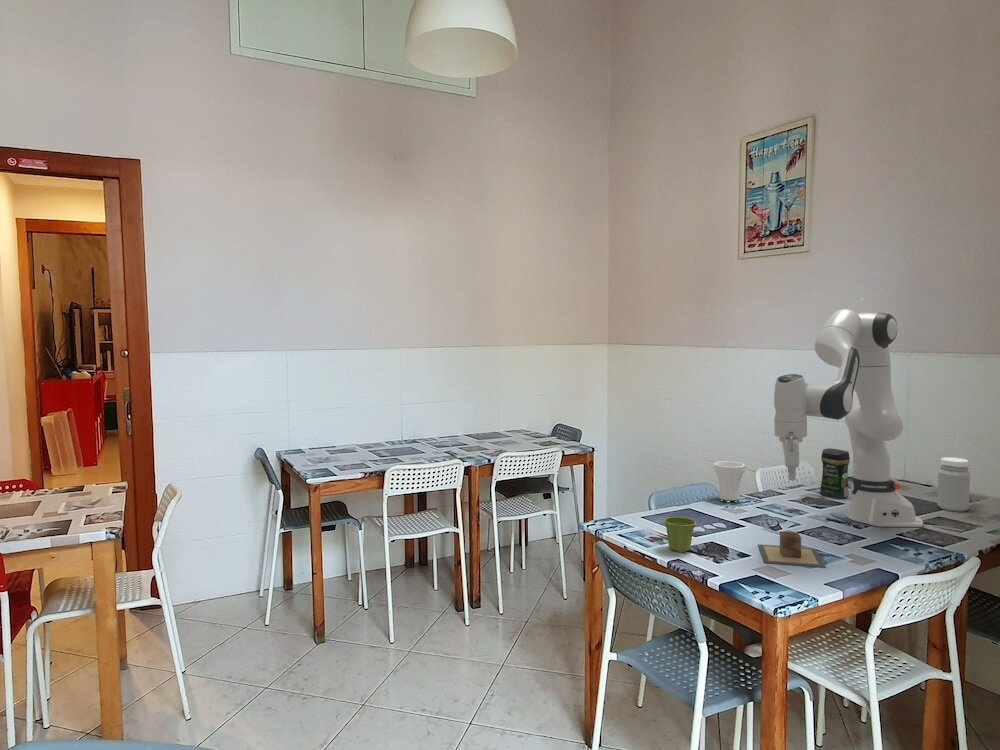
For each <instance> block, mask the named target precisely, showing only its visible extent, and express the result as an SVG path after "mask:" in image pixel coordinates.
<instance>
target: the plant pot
mask: <svg viewBox="0 0 1000 750" xmlns="http://www.w3.org/2000/svg"><path fill="white" fill-rule="evenodd" d="M663 523H664V525H665V526H664V527H665V528H666V532H667V541H668V549H669V550H670V551H674V552H677V553H687V552H688V551H691V548H692V547H691V546H692V539H693V532H694V529H695V525H697V521H696V520H694V519H693V518H690V517H685V516H683V517H682V516H669V517H665V518H663ZM686 551H687V552H686Z"/></svg>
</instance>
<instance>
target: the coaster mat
mask: <svg viewBox="0 0 1000 750" xmlns="http://www.w3.org/2000/svg"><path fill="white" fill-rule="evenodd" d="M757 547H758V550H759V553H760V555H761V558H762V561H763V564H769V565H770V564H771V565H783V566H794V567H795V566H797V567H808V568H809V567H811V568H821V569H822V568H823V569H824V568H825V569H826V568H827V566H826V564H825V563H824V561H823V559H822V558H821V556H820V554H819V553H818V551H817V550H816V548H814V547H802V546H801V558H789V557H782V556H781V554H780V545H772V544H759V543H758V544H757Z"/></svg>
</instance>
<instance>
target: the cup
mask: <svg viewBox="0 0 1000 750" xmlns="http://www.w3.org/2000/svg"><path fill="white" fill-rule="evenodd" d="M713 465H714V467H713V469H714V472H715V474H716V477H717V481H718V489H719V490H718V499H719V501H720V502H722V501H721V500H724V502H726V501H731V500H732V501H731V502H733V501H738V502H739V500H740V498H741V497H740V496H741V494H740V487H741V481H742V477H743V475H744V473H745V470H746V465H745V464H744V463H742V462H739V461H738V462H737V461H730V460H729V461H723V460H722V461H716V462H714V463H713Z"/></svg>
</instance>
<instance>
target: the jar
mask: <svg viewBox="0 0 1000 750" xmlns="http://www.w3.org/2000/svg"><path fill="white" fill-rule="evenodd" d="M940 464H941V465H940V468H939V469H938V472H937V474H938V475H937V496H936V500H937V501H936V505H937V506H938V508H939V509H942V510H945V511H949V512H959V513H960V512H966V511H968V510H969V508H970V486H971V485H970V482H971V472H969V467H968V466H969V460H968V459H965V458H960V457H953V456H952V457H949V456H947V457H946V456H945V457H941V458H940Z"/></svg>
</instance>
